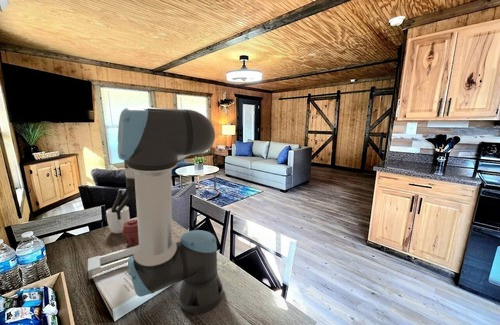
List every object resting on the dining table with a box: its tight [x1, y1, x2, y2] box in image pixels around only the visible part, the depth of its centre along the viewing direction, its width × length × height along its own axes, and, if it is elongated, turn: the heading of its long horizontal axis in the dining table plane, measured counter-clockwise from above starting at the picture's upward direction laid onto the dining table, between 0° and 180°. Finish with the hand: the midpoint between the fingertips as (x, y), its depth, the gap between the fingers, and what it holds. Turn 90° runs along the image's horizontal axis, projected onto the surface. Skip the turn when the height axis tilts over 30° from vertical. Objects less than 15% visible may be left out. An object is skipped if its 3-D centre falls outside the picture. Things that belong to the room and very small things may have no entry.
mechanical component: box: [121, 219, 139, 247], centre depth 106 cm, size 12×10×10 cm
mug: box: [105, 205, 131, 234], centre depth 118 cm, size 15×11×13 cm
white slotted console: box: [87, 245, 138, 280], centre depth 92 cm, size 9×21×4 cm, turn 127°
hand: (139, 221), depth 95 cm, fingers open, 13 cm apart
